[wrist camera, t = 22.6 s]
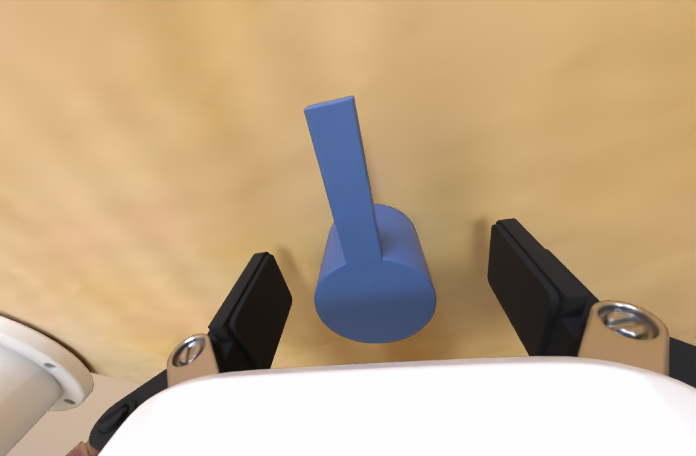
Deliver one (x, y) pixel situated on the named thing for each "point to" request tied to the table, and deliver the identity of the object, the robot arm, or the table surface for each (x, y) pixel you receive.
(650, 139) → the table surface
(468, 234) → the table surface
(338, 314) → the scoop blue
